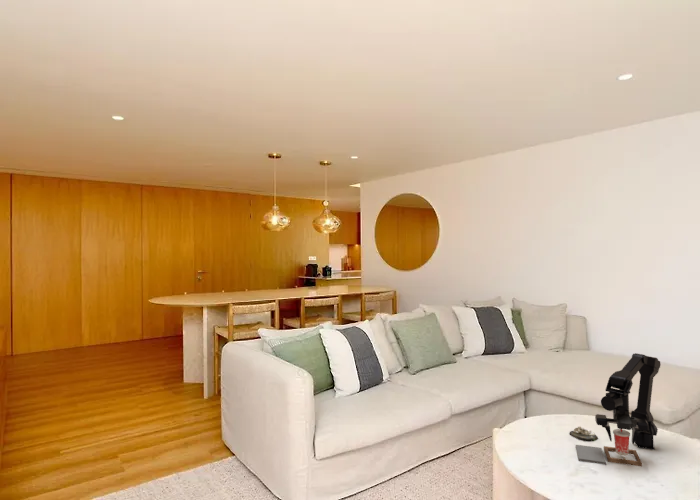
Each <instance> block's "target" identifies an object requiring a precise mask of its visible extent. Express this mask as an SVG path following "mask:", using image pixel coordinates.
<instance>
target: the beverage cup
mask: <svg viewBox="0 0 700 500" xmlns="http://www.w3.org/2000/svg"><path fill="white" fill-rule="evenodd" d="M612 432H613V439H614V446H615V450H616V452H615V453H616V454H617V455H619V456H623V457H627V456H629V455H630V454H629V449H630V436H631V432H630V431H629V430H627V429H619V428H615V429H613V430H612Z"/></svg>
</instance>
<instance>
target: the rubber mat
mask: <svg viewBox="0 0 700 500" xmlns="http://www.w3.org/2000/svg"><path fill="white" fill-rule="evenodd" d="M575 450H576V454H577V455H576V456H577V460H578V462H583V463H584V462H585V463H593V464H599V465H607V462H606V460H607V459H606V458H605V457H606V456H605V453H604V450H603V448H602V447H597V446H592V445H591V446H590V445H582V444H575Z"/></svg>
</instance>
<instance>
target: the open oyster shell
mask: <svg viewBox="0 0 700 500" xmlns="http://www.w3.org/2000/svg"><path fill="white" fill-rule="evenodd" d="M569 435H570V436H571V437H572V438H575V439H577V440H579V441H582V442H588V443H589V442H596V441H598V440H599V437H598V436H597V435H596V434H595V432H593V431H592V430H588V429H587V428H584V427H582V426H581V425H580V426H577V427H575V428H574V429H573V430H570V431H569Z"/></svg>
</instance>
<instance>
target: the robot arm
mask: <svg viewBox="0 0 700 500" xmlns="http://www.w3.org/2000/svg"><path fill="white" fill-rule="evenodd" d="M660 368H661V361H660V360H659V359H658V357H653V356H649V355H646V354H642V353H632V354H631V358H630V359H628V361H627V363H626V364H625V365H624V366H623V367H622V369H621V370H617V371H615V372H613V373H612V374H611V375H610V376H609V378H608V380H607V385H606V387H605V392H606V393H605V396H603V397H602V398H601V399H600V404H601V406H602V408H603V409H604V410H606V411H610V412H611V411H612V416H613V417H612V418H611V417H609V418H608V417H607V415H606V414H599V413H596V414H595V416H594V417H595V418H594V420H595V424H596V425H597V426H601V427H602V428H604V429H605V431H606V433H607V435H608V439H609V441H610V442H612V432H611V426H610V424H615V425H616V427H617V428H616V429H622V430H626V431H631V444H632V445H634V444H635V445H636V447H637V448H638V449H639V448H640V449H648V450H655V445H654V436H658V435H657V434H658V430H659V429H658V427H657V426H656V424H655V423H654V416H653V414H652V412H651V404H652V403H651V402H652V392H653V386H654V385H653V384H654V378H655V377H656V376H657V375H658V374H659V372H660ZM638 373H639V375H640V376H639V377H640V378H639V384H638V385H639V386H638V395H637V403H636V408H635V409H634V410H631V412H630V406H629V404H630V403H629V402H630V401H629V399H630V398H629V395H630V394H631V389H632V387H633V384H634V383H633V379H634V377H635V376H636V375H637V374H638Z"/></svg>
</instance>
